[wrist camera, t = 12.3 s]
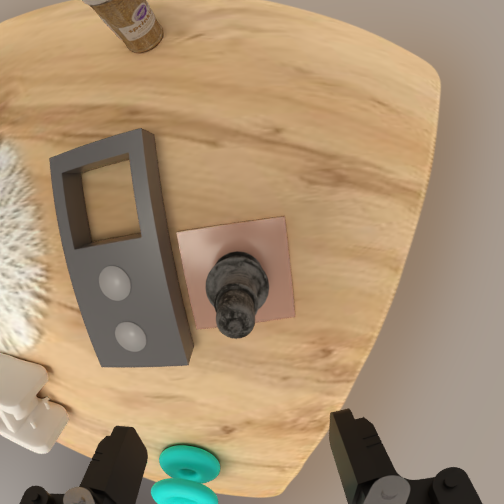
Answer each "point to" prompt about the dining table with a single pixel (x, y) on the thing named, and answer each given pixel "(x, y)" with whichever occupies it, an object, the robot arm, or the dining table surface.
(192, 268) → the tile pad
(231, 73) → the dining table surface
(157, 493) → the donuts
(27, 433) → the cable organizer
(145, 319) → the socket strip
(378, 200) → the dining table surface
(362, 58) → the dining table surface
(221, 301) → the dark chess piece
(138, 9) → the sprinkles bottle
